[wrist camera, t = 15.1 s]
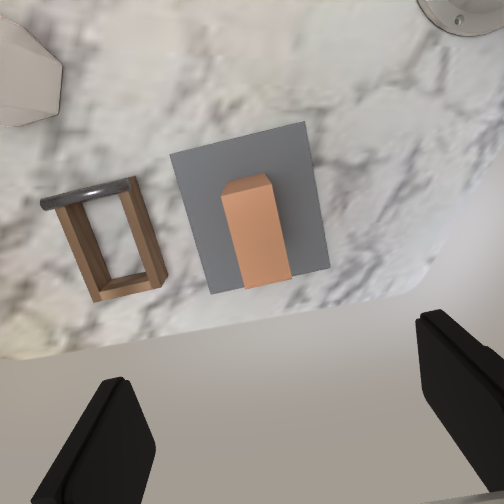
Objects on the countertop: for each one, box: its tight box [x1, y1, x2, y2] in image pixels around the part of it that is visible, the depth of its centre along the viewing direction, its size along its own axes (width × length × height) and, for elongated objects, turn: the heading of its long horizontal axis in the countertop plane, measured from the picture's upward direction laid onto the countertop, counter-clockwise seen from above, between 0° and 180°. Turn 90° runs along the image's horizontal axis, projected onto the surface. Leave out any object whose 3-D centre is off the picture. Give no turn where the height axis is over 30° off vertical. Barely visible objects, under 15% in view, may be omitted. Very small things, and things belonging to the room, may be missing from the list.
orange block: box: [221, 173, 292, 289], centre depth 32 cm, size 4×8×10 cm, turn 13°
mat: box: [170, 121, 330, 294], centre depth 37 cm, size 14×16×1 cm
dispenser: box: [40, 176, 168, 303], centre depth 36 cm, size 8×12×5 cm
